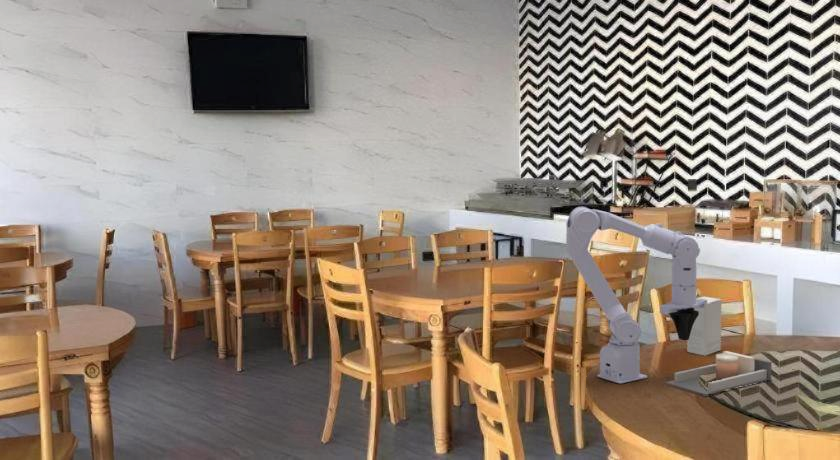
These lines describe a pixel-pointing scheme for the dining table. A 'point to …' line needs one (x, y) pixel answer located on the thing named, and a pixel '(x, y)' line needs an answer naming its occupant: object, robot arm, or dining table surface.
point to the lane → (691, 379)
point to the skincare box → (706, 329)
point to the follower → (744, 363)
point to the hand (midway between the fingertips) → (683, 339)
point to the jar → (726, 365)
